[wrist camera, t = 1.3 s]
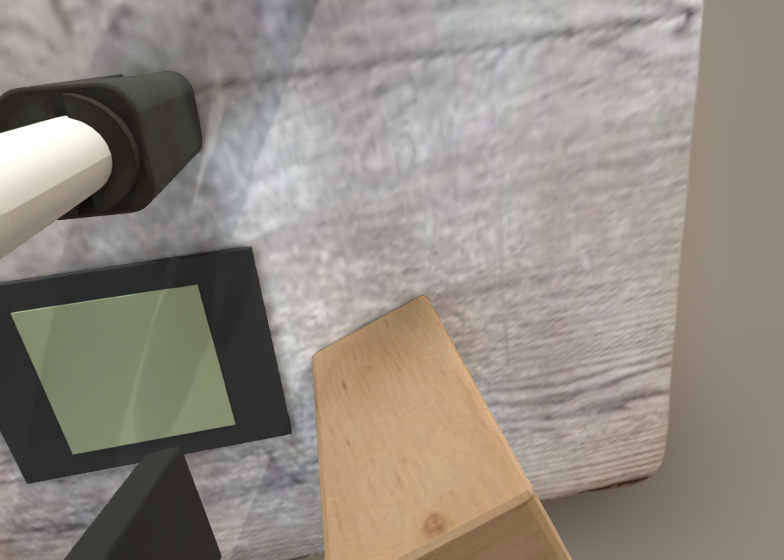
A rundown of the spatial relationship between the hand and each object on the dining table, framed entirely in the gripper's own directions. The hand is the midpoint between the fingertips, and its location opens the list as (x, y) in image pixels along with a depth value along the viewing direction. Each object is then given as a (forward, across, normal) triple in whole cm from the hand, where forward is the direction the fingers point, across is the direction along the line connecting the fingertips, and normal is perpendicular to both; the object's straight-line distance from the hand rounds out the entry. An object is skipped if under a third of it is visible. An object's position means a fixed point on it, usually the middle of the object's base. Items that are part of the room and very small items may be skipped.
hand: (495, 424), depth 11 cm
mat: (+27, -21, -4) cm, 35 cm away
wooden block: (+30, -3, -10) cm, 32 cm away
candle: (+24, -13, +12) cm, 30 cm away
